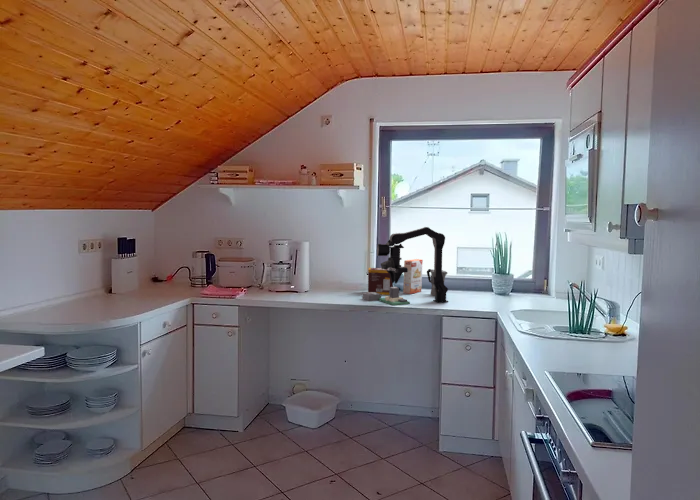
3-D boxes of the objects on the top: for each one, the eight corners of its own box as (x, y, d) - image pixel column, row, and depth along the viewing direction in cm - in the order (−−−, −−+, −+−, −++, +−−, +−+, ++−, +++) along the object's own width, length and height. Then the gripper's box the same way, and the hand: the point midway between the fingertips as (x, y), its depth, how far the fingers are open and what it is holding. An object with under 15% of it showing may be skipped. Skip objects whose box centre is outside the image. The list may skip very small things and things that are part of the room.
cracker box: (411, 294, 314) (411, 261, 312) (402, 293, 318) (403, 260, 316) (422, 291, 325) (423, 259, 323) (413, 290, 329) (414, 258, 327)
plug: (398, 300, 287) (399, 287, 287) (391, 301, 285) (392, 288, 285) (395, 299, 291) (395, 286, 290) (388, 299, 289) (388, 287, 288)
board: (409, 304, 284) (409, 298, 283) (393, 305, 279) (393, 299, 279) (394, 299, 298) (394, 293, 298) (378, 300, 293) (378, 294, 293)
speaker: (380, 300, 294) (381, 293, 293) (368, 301, 290) (368, 294, 290) (374, 297, 301) (374, 291, 301) (362, 298, 297) (362, 292, 297)
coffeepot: (451, 295, 312) (452, 266, 310) (441, 297, 305) (442, 268, 303) (430, 292, 323) (431, 264, 321) (421, 294, 316) (422, 265, 315)
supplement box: (367, 291, 322) (368, 267, 320) (392, 292, 321) (392, 267, 320) (367, 294, 312) (368, 269, 310) (392, 295, 311) (393, 270, 310)
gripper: (374, 254, 291) (374, 281, 292) (391, 258, 274) (390, 286, 276) (391, 254, 296) (390, 280, 297) (408, 257, 279) (407, 285, 281)
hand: (394, 283), depth 287 cm, fingers open, 3 cm apart
